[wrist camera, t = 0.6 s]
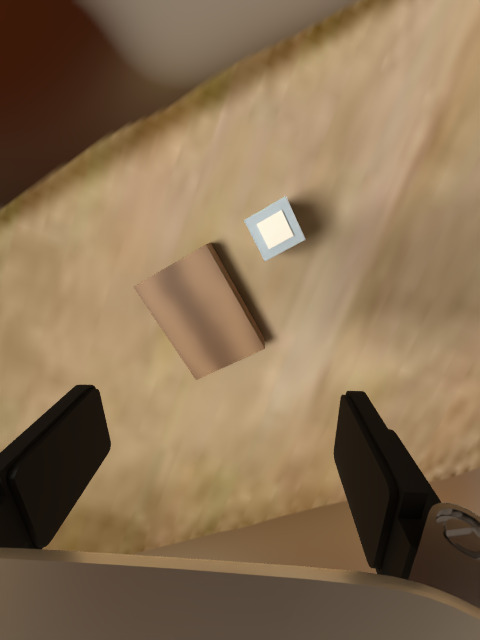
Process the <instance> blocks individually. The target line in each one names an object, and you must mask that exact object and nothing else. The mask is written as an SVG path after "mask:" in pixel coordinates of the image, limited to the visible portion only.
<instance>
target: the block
mask: <svg viewBox="0 0 480 640" xmlns="http://www.w3.org/2000/svg"><path fill="white" fill-rule="evenodd" d="M244 221H245V223H246V225H247V227H248V229H249V231H250V233H251V235H252V237H253V239H254V241H255V243H256V245H257V247H258V249H259V251H260V253H261V255H262V257H263V259H264V261H266V260H268V259H270V258H272V257H274V256H276V255H278V254H280V253H281V252H283V251H285V250H287V249H289V248H291V247H293V246H294V245H296V244H298V243H300V242H302V241H304V240H306V239H305V237H304V235H303V233H302V231H301V228H300V226H299V224H298V222H297V220H296V217H295V215H294V213H293V211H292V209H291V206H290V204H289V202H288V200H287V198H286V196H285V197H283V198H281V199H280V200H278V201H276V202H275V203H273V204H271V205H269V206H268V207H266V208H264V209H263V210H261V211H259V212H258V213H256V214H254V215H252V216H251V217H249V218H247V219H246V220H244Z"/></svg>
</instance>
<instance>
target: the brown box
mask: <svg viewBox="0 0 480 640" xmlns="http://www.w3.org/2000/svg"><path fill="white" fill-rule="evenodd" d="M134 289H135V290H136V292H137V293H138V295H139V296H140V297H141V299H142V300H143V302H144V303H145V305H146V306H147V308H148V309H149V311H150V312H151V314H152V315H153V317H154V318H155V320H156V321H157V323H158V324H159V326H160V327H161V329H162V330H163V332H164V333H165V335H166V336H167V338H168V339H169V340H170V342H171V343H172V345H173V346H174V348H175V349H176V351H177V352H178V354H179V355H180V357H181V358H182V360H183V361H184V363H185V364H186V366H187V367H188V369H189V370H190V372H191V373H192V375H193V376H194V378H195V379H196V380H197V379H200V378H202V377H204V376H206V375H208V374H210V373H213V372H215V371H217V370H219V369H221V368H224V367H226V366H228V365H230V364H232V363H234V362H237V361H239V360H241V359H243V358H245V357H248V356H250V355H252V354H254V353H256V352H258V351H261V350H263V349H265V344H264V337H263V336H262V334H261V332H260V330H259V328H258V327H257V325H256V323H255V321H254V319H253V318H252V316H251V314H250V312H249V310H248V309H247V307H246V305H245V303H244V302H243V300H242V298H241V296H240V294H239V293H238V291H237V289H236V287H235V285H234V284H233V282H232V280H231V278H230V276H229V275H228V273H227V271H226V269H225V267H224V266H223V264H222V262H221V260H220V259H219V257H218V255H217V253H216V251H215V250H214V248H213V246H212V244H211V243H208V244H206V245H204V246H203V247H201V248H199V249H197V250H196V251H194V252H192V253H191V254H189V255H187V256H185V257H184V258H182V259H180V260H179V261H177V262H175V263H173V264H172V265H170V266H168V267H167V268H165V269H163V270H161V271H160V272H158V273H156V274H155V275H153V276H151V277H149V278H148V279H146V280H144V281H143V282H141V283H139V284H137V285H136V286H134Z"/></svg>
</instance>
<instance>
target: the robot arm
mask: <svg viewBox="0 0 480 640" xmlns="http://www.w3.org/2000/svg"><path fill="white" fill-rule="evenodd" d="M110 447H111V441H110V437H109V432H108V428H107V423H106V419H105V414H104V410H103V405H102V401H101V396H100V392H99V390H98V389H96V388H95V386H93V385H76V386H75V387H74V388H72V389H71V390H70V391H69V392H68V393H67V394H66V395H65V396H63V397H62V398H61V399H60V400H59V401H58V402H57V403H56V404H55V405H53V406H52V407H51V408H50V409H49V410H48V411H47V412H46V413H44V414H43V415H42V416H41V417H40V418H39V419H38V420H37V421H35V422H34V423H33V424H32V425H31V426H30V427H29V428H28V429H26V430H25V431H24V432H23V433H22V434H21V435H20V436H19V437H17V438H16V439H15V440H14V441H13V442H12V443H11V444H10V445H8V446H7V447H6V448H5V449H4V450H3V451H2V452H1V453H0V640H480V517H479V516H478V515H476V514H475V513H473V512H472V511H470V510H468V509H466V508H463V507H461V506H459V505H456V504H451V503H441V501H440V500H439V498H438V496H437V495H436V493H435V492H434V491H433V489H432V487H431V486H430V484H429V483H428V481H427V480H426V478H425V477H424V475H423V474H422V472H421V471H420V469H419V468H418V466H417V465H416V463H415V461H414V460H413V458H412V457H411V455H410V454H409V452H408V451H407V449H406V448H405V446H404V445H403V443H402V442H401V440H400V439H399V437H398V436H397V434H396V433H395V432H394V431H393V430H390V429H388V428H387V427H386V425H385V423H384V422H383V420H382V419H381V417H380V416H379V414H378V412H377V411H376V409H375V408H374V406H373V404H372V403H371V401H370V400H369V398H368V397H367V395H366V393H365V392H363V391H347V392H346V395H342V396H341V400H340V408H339V415H338V423H337V431H336V438H335V446H334V459H335V463H336V466H337V469H338V473H339V476H340V479H341V482H342V485H343V488H344V491H345V494H346V497H347V500H348V503H349V507H350V509H351V513H352V516H353V519H354V522H355V525H356V528H357V531H358V534H359V537H360V541H361V544H362V547H363V550H364V553H365V556H366V559H367V562H368V564H369V566H370V567H371V568H375V569H376V571H377V574H373V573H366V572H359V571H348V570H337V569H336V570H335V569H325V568H314V567H303V566H289V565H276V564H262V563H247V562H234V561H233V562H232V561H219V560H204V559H188V558H174V557H158V556H143V555H127V554H111V553H94V552H77V551H60V550H42V548H43V547H45V546H47V545H48V544H49V543H50V542H51V540H52V539H53V537H54V536H55V534H56V533H57V531H58V530H59V528H60V526H61V525H62V523H63V522H64V520H65V519H66V517H67V516H68V514H69V513H70V511H71V510H72V508H73V507H74V505H75V503H76V502H77V500H78V499H79V497H80V496H81V494H82V493H83V491H84V490H85V488H86V487H87V485H88V483H89V482H90V480H91V479H92V477H93V476H94V474H95V473H96V471H97V470H98V468H99V467H100V465H101V464H102V462H103V460H104V459H105V457H106V456H107V454H108V453H109V450H110Z"/></svg>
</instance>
